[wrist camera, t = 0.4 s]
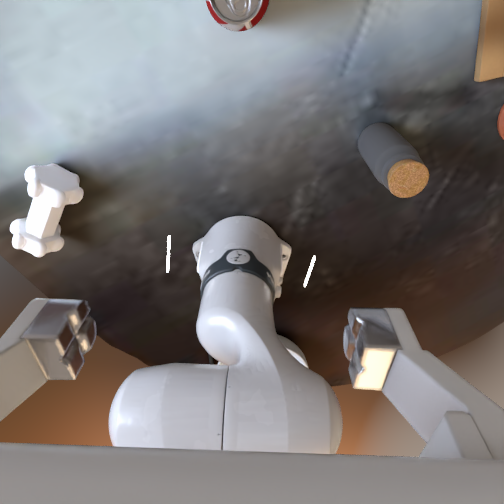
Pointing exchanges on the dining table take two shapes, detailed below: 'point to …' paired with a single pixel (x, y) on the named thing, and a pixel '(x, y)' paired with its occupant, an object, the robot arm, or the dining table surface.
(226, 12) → the soda can
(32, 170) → the bone shaped toy
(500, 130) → the coaster
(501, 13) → the cup stand
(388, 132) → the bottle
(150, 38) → the dining table surface
